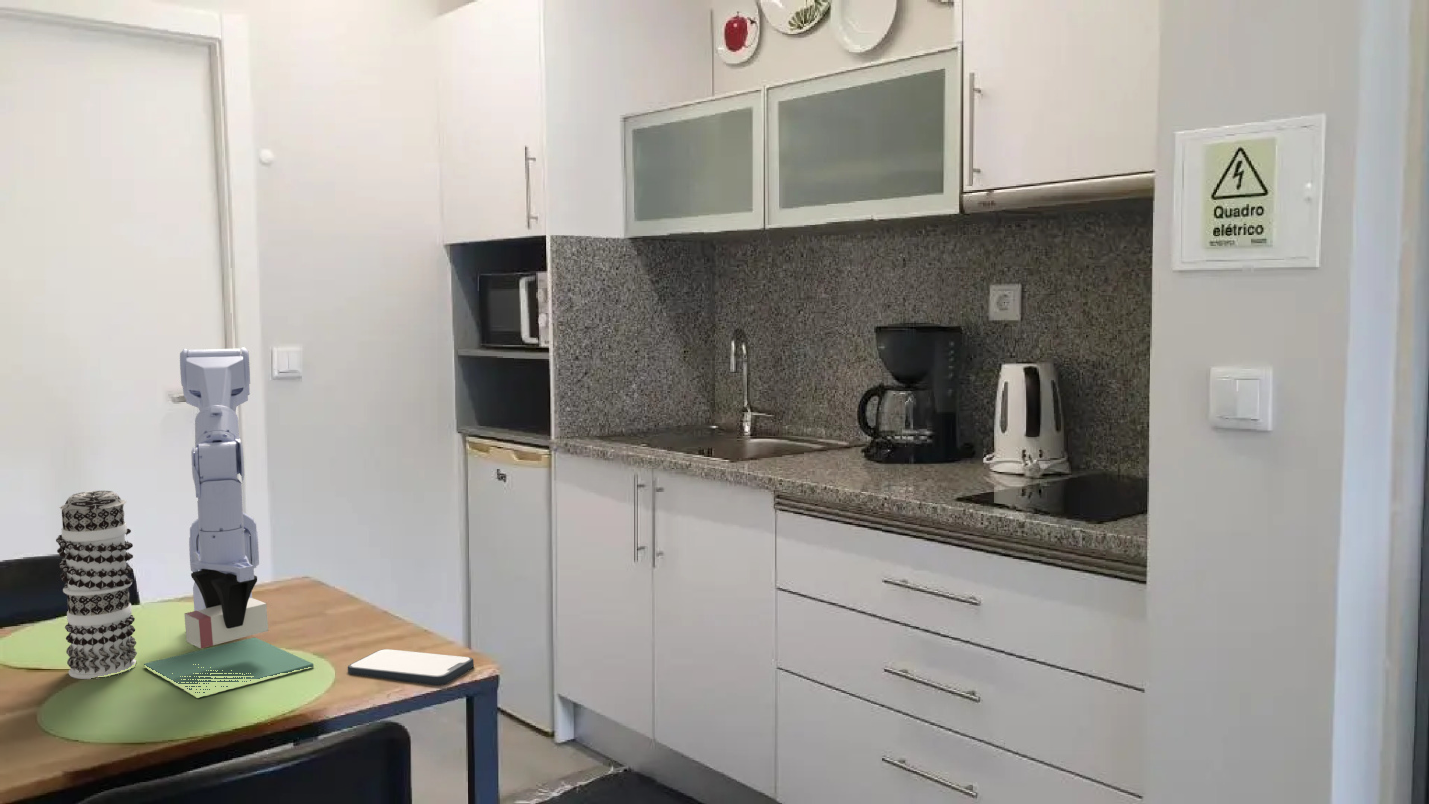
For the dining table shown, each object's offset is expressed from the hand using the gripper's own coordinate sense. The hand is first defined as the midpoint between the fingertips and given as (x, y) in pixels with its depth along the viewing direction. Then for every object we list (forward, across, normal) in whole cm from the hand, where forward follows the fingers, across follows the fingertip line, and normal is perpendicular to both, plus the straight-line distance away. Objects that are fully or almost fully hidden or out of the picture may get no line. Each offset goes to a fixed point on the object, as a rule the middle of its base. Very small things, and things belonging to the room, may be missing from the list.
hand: (226, 622), depth 156 cm
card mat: (+6, 0, 0) cm, 6 cm away
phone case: (+7, +20, +17) cm, 27 cm away
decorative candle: (+7, -13, -12) cm, 19 cm away
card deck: (+2, 0, 0) cm, 2 cm away
